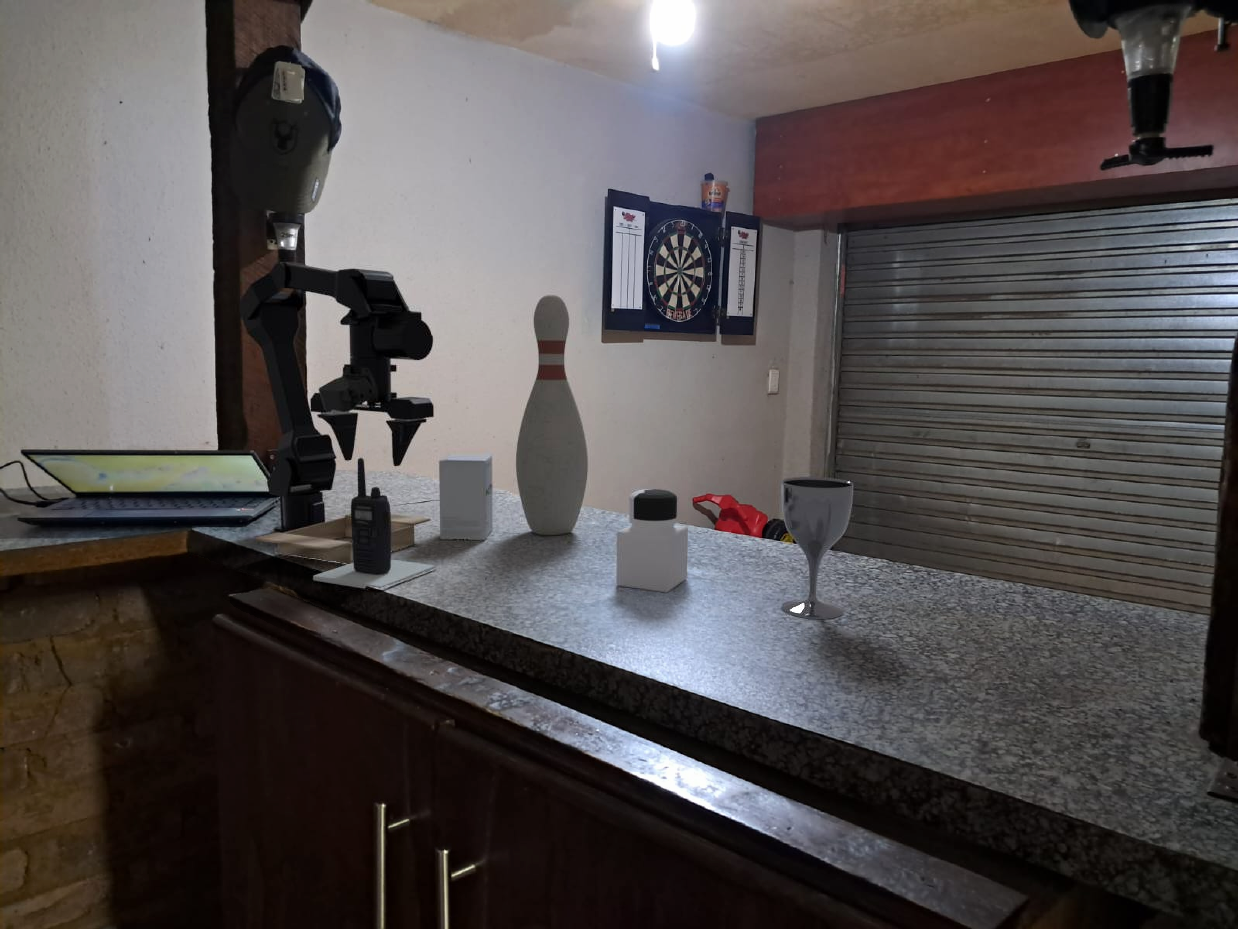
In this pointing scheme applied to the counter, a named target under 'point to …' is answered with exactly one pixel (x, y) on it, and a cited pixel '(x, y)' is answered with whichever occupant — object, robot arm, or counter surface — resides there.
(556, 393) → the bowling pin
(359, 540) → the two-way radio
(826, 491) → the wine glass
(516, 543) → the counter surface
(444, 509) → the supplement box
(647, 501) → the medicine bottle
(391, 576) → the mat
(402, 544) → the carton
